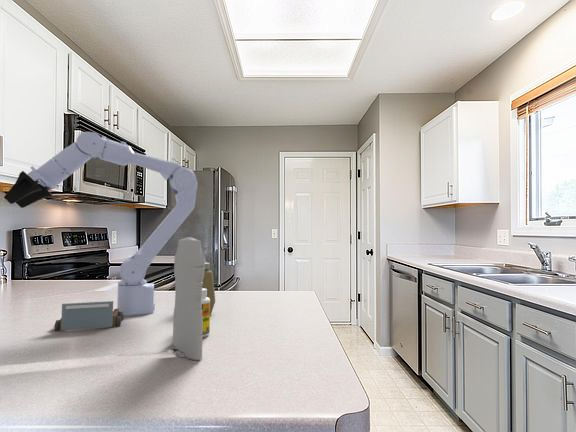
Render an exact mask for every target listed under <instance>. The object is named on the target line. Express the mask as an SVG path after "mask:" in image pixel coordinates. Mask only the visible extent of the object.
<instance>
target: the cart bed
mask: <svg viewBox="0 0 576 432" xmlns="http://www.w3.org/2000/svg"><path fill="white" fill-rule="evenodd" d="M61 319H62V316H61V318H60V319H57V320H55V323H54V328H53V329H54V332H65V331H68V330H61ZM123 320H124V315H123V312H119V309H117V308H113V325H112V327H111V328H119V327H121V324H122V322H123ZM105 328H106V329H108V328H110V327H101V328H100V329H105ZM89 329H90V330H93V329H96V328H87V329H86V330H89ZM79 330H82V329H73V330H72V331H79Z"/></svg>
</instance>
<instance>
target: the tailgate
mask: <svg viewBox="0 0 576 432" xmlns="http://www.w3.org/2000/svg"><path fill="white" fill-rule="evenodd" d="M113 311H114V301H113V300H110V301H109V300H108V301H107V300H105V301H92V302H91V301H90V302H87V301H86V302H70V303H66V302H65V303H62V304H61V317H62V319H61V318H60V319H61V330H67V331H74V330H73V329H81V330H88V329H87V328H95V329H102V328H101V327H109V328H113V327H112V325H113Z"/></svg>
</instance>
